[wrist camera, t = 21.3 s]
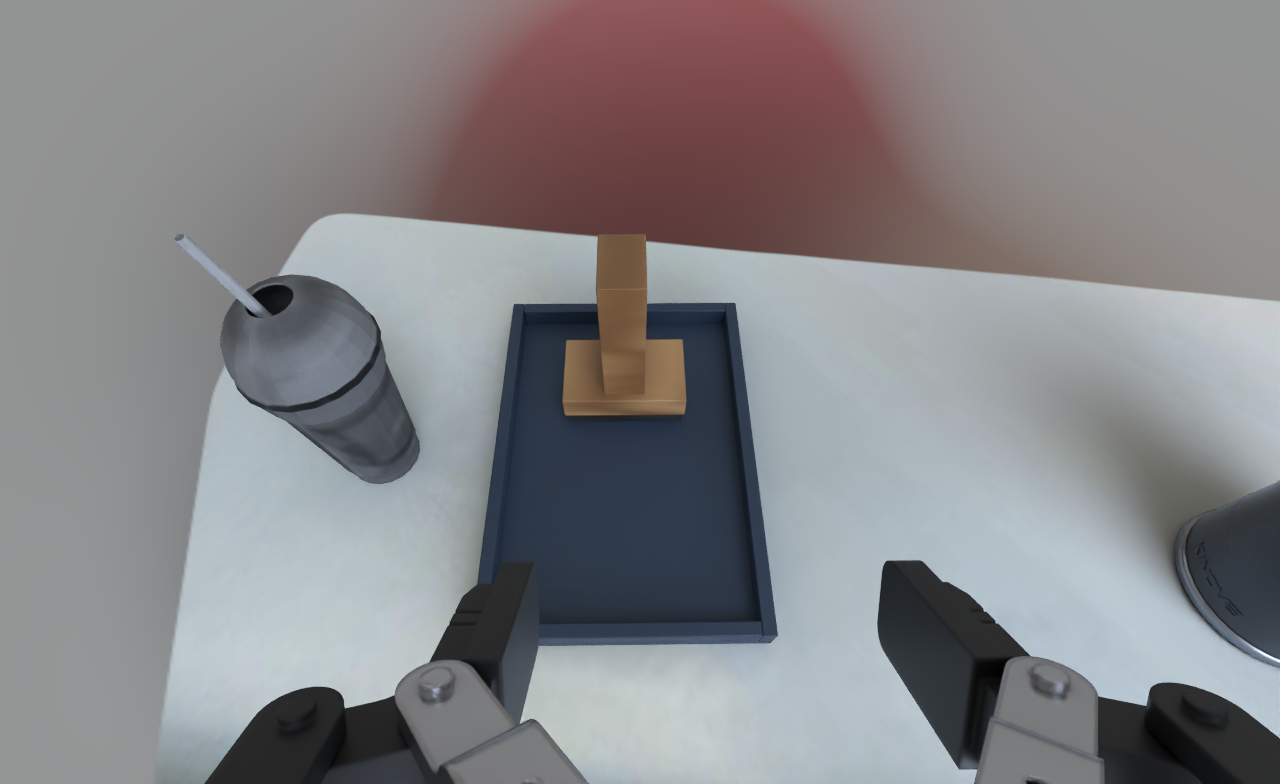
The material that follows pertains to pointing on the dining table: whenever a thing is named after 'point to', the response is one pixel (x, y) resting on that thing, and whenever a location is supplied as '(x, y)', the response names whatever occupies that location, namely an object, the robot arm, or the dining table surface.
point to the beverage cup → (316, 368)
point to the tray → (631, 492)
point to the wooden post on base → (623, 348)
